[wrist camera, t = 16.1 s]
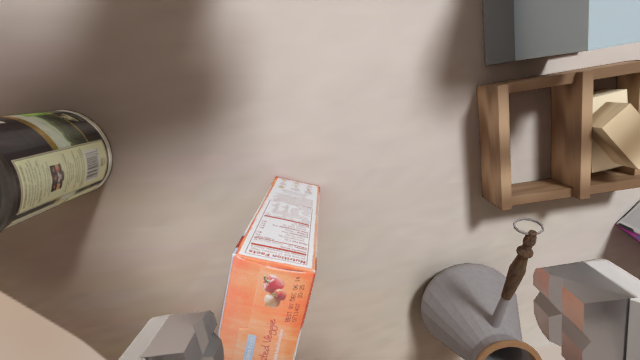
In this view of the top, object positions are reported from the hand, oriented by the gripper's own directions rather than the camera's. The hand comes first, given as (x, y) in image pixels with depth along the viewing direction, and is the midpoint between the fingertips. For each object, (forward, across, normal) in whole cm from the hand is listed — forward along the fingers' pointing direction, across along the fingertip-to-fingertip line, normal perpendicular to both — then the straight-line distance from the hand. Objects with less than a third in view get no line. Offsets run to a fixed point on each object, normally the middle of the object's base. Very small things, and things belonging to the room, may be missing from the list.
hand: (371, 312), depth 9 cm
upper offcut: (+30, -28, +4) cm, 41 cm away
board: (+32, -22, -10) cm, 40 cm away
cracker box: (+33, +8, +11) cm, 36 cm away
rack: (+33, -24, +3) cm, 41 cm away
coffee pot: (+33, -13, +18) cm, 40 cm away
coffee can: (+33, +32, -3) cm, 46 cm away
